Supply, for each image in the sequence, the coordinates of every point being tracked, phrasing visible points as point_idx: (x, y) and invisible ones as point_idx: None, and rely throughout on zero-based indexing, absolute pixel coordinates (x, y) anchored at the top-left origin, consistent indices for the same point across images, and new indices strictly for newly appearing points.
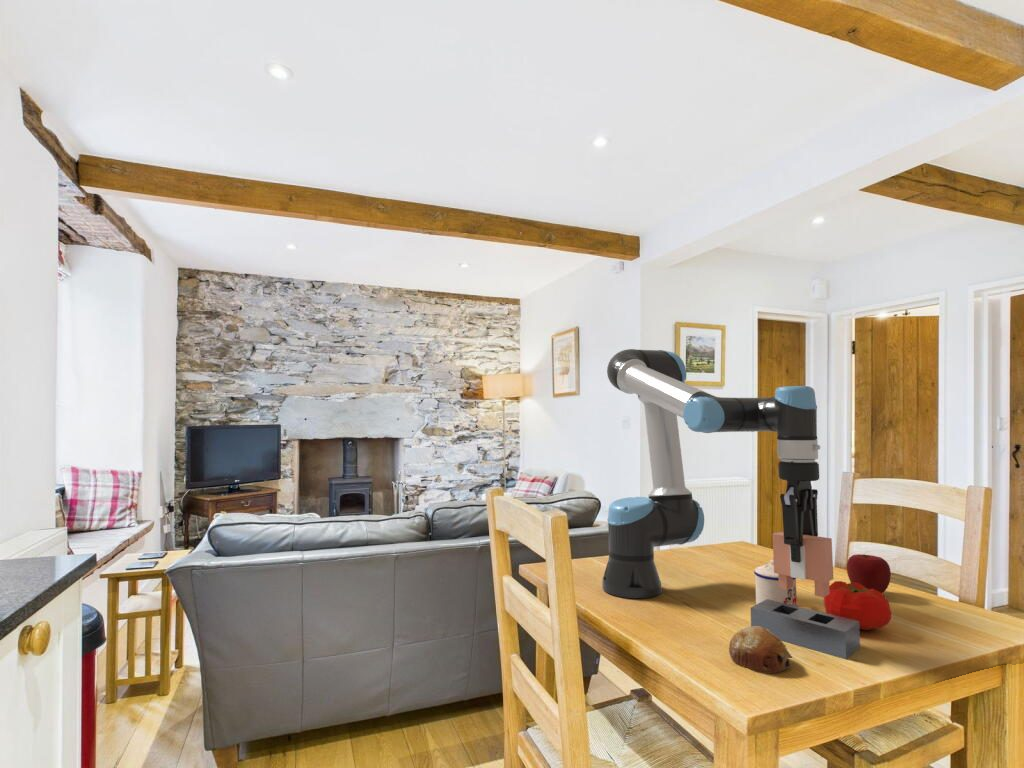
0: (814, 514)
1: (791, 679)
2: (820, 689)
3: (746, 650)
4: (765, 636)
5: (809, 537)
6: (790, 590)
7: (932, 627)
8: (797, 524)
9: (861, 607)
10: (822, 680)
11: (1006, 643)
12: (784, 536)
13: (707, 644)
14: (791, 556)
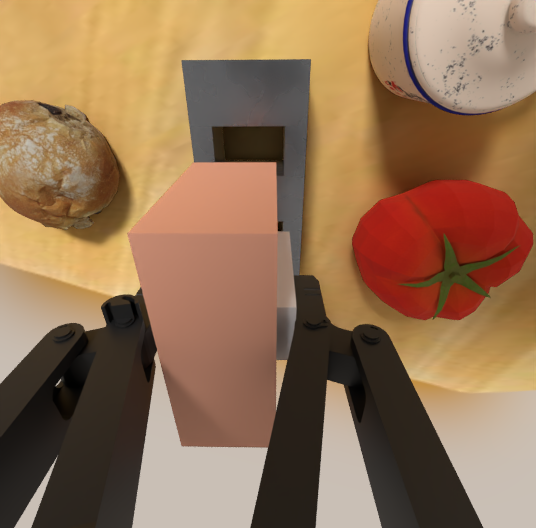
0: (382, 518)
1: (59, 232)
2: (73, 271)
3: None
4: (16, 204)
5: (215, 395)
6: (424, 100)
7: (493, 319)
8: (35, 479)
9: (372, 288)
10: (104, 264)
11: (465, 387)
12: (32, 354)
13: (16, 13)
14: (140, 290)
